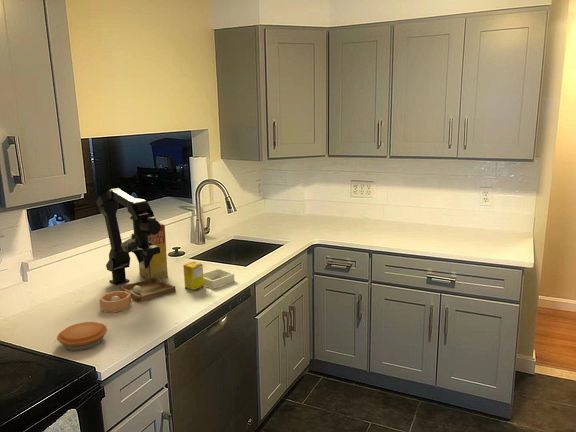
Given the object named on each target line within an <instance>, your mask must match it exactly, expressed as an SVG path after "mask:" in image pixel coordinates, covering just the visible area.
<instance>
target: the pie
mask: <svg viewBox="0 0 576 432" xmlns="http://www.w3.org/2000/svg"><path fill="white" fill-rule="evenodd" d="M107 332H108V328H107V326H106V324H104V323H100V322H96V321H95V322H94V321H84V322H78V323H75V324H72V325H69V326H67V327H66V328H65V329H63V330H61V331H60V332H59V333H58V335H57V336H56V340H57V342H58V343H60V344H61V345H63V346H64V347H65V349H67V350H70V351H84V350H87V349H92V348H94V347H96V346H98V345H99V344H100V343H101V342H102V340H103V339H104V336H105V335H106V334H107Z"/></svg>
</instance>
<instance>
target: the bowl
mask: <svg viewBox="0 0 576 432" xmlns="http://www.w3.org/2000/svg"><path fill="white" fill-rule="evenodd" d="M113 296H118V297H119V298H120V300H117V301H111V298H112V297H113ZM98 302H99V308H100V309H101V311H102V312H105V313H119V312H123V311H125V310H128V309H129V308H131V305H132V303H133V299H132V298H131V294H130V293H128V292H126V291H120V290H114V291H110V292H107V293H103V294H101V296H100V297H99V299H98Z"/></svg>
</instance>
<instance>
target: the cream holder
mask: <svg viewBox="0 0 576 432" xmlns="http://www.w3.org/2000/svg"><path fill="white" fill-rule="evenodd" d="M218 277H219V278H218ZM203 281H204V287H206V288H210V289H214V290H215V289H217V288H220V287H222V286H225V285H228V284H231V283H234V281H236V280H235V273H234V272H231V271H228V270H225V269H222V268H215V269H212V270H209V271H208V270H207V271H205V272H203Z"/></svg>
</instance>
